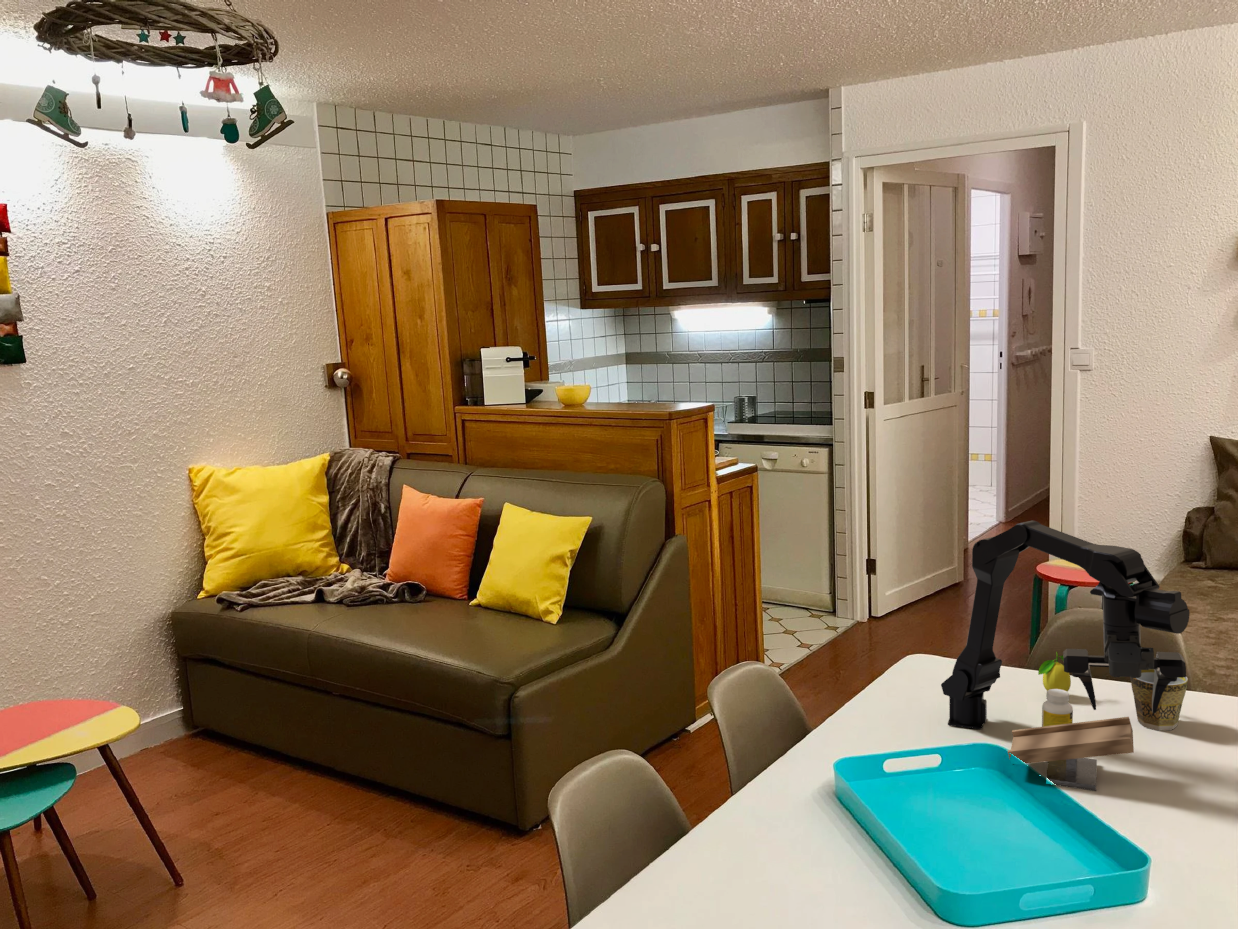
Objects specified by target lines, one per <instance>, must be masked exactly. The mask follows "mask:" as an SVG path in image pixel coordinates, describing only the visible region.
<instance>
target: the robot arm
mask: <svg viewBox="0 0 1238 929" xmlns="http://www.w3.org/2000/svg"><path fill="white" fill-rule="evenodd" d="M1029 548H1032V549H1035V550H1037V551H1039V552H1042V553H1045V554H1047V555H1051V556H1053V557H1055V558H1058V559H1061V560H1062V561H1066V562H1068V563H1071V564H1074V565H1076V566H1077V567H1080V568H1082V569H1083V570H1084V571H1085V573H1087V575H1088V576H1089V577H1090V578H1092V579H1094V580H1096V581H1097V582H1098V584H1097V585H1096V586H1095V587H1093V588H1092V589H1091V590H1089V593H1090V595H1093V596H1099V597H1101V598H1102V626H1103V627H1102V630H1103V655H1091V654H1090V655H1089V652H1088V649H1085V648H1065V649H1064V650H1063V652H1062V655H1063V659H1064V661H1063V665H1064V672H1067V673H1069V674H1072V675H1071V676H1072V677H1074V678H1079V680H1080V682H1081V683H1082V685H1083V687H1084V688H1085V691H1086V693H1087V696H1088V699H1089V701H1090V704H1091V707H1092V709H1093V711H1096V710H1097V701H1096V695H1095V688H1094V684H1093V683H1094V682H1093V679H1092V673H1091V668H1090V667H1094V668H1108V671H1109V672H1108V674H1109V675H1110V676H1111V677H1114V678H1121V677H1125V678H1130V677H1132V678H1139V677H1141V670H1149V669H1155V671H1154V682H1153V694H1152V712H1153V713H1156V710H1157V707H1158V705H1159V702H1160V699H1161V696H1162V694H1163V692H1164V690H1165V688H1166V686H1167V685H1168V684H1169V683H1170V682H1175V681H1177V677H1181V678H1183V677H1187V666H1186V661H1185V659H1184V656H1183V655H1182V654H1181V653H1180V652H1176V651H1175V652H1174V651H1173V652H1172V651H1156V654H1155V652H1154V648H1153V647H1146V646H1144V647H1142V646H1141V644H1142V643H1141V640H1142V639H1141V628H1142V627H1143V628H1145V629H1150V630H1156V631H1162V632H1166V633H1172V634H1177V635H1179V634H1182V633H1183V632H1184V631H1185V630H1186V629H1187V627H1188V624H1189V621H1190V615H1191V614H1190V613H1191V612H1190V608H1188V604H1187V603H1186V600H1184V599H1183V598H1182V592H1181V591H1178V590H1164V589H1160V585H1159V583H1158V582H1157V580H1156V579H1155V577H1153V575H1152V573H1151V572H1150V570H1149V569H1148V567H1147V565H1146V564H1145V562H1144V559H1143V558H1142V555H1141V553H1140V552H1139V551H1137V550H1136V549H1134V548H1128V547H1123V546H1117V545H1107V544H1097V543H1094V542H1091V541H1090V542H1089V541H1087V540H1084V539H1082V538H1079V537H1076V536H1073V535H1072V534H1071V535H1070V534H1068V533H1066V532H1062V531H1061V530H1060V531H1059V530H1057V529H1055V528H1053V527H1049V526H1046V525H1044V524H1042V523H1040V522H1039V521H1036V520H1028V521H1023V522H1020V523H1016V524H1015V525H1013V526H1012V527H1011V528H1009V529H1007V530H1005V531H1003V532H1001V533H999V534H997V535H995V536H992V537H991V536H990V537H988V538H983V539H982V538H981V539H979V540H978V541H976V542H975V543H974V544H973V546H972V549H971V567H972V570H973V572H974V575H975V576H976V586H975V591H974V598H973V604H972V609H971V616H970V621H969V622H970V623H969V626H968V633H967V638H966V640H967V641H966V645H965V647H964V648H963V650H961V653H959V655H958V656H957V658H956V660H955V663H954V666H953V669H952V673H951V675H950V676H949V677H947V679H945V680H944V681H943V682H942V683H941V684H940V686H941V690H942V694H943V695H945V696H947V697H949V701H948V705H949V707H948V710H949V714H948V715H949V716H948V717H949V718H948V721H947V726H950V725H952V726H951V727H960V728H967V729H975V730H983V726H984V724H986V722H987V720H988V718H987V717H988V716H987V714H988V713H987V708H988V706H987V699H985V698H984V697H985V695H984V693H986V692H990V690H991V688H992V685H994V684H995V683H996V682H997V679H1000V678H1001V674H1000V672H1001V667H1002V665H1003V661H1002V659H1001V658H997V657H996V654H995V652H994V643H995V642H994V641H995V637H996V630H997V625H998V619H999V614H1000V608H1001V602H1002V596H1003V590H1004V585H1005V583H1006V580H1008V578H1009V576H1010V575H1011V573H1012V572H1013V571H1014V569H1015V566H1016V564H1017V561H1018V558H1019V555H1020V554H1021V553H1022V552H1023V551H1025V550H1027V549H1029ZM1136 581H1137V582H1136ZM1132 582H1136V583H1133V584H1129V583H1132ZM1155 655H1156V656H1155Z"/></svg>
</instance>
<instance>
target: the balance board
mask: <svg viewBox="0 0 1238 929" xmlns="http://www.w3.org/2000/svg"><path fill="white" fill-rule="evenodd" d="M1133 731H1134V730H1133V727H1132V723H1131V720H1130V716H1124V717H1123V716H1122V717H1114V718H1105V719H1104V718H1103V719H1097V720H1088V721H1087V720H1086V721H1080V722H1072V723H1070V724H1061V725H1053V726H1044V727H1042V726H1038V727H1037V726H1036V727H1029V728H1028V727H1027V728H1020V729H1012V730H1011V734H1012V736H1013V738H1012V741H1011V746H1010V747H1011V748H1010V749H1008V750H1007V754H1008V759H1010V757H1011V754H1013V755H1014V756H1016V757H1017V758H1019V759H1020V760H1022V761H1023V762H1025V763H1026V764H1025V765H1027V764H1035V763H1045V762H1047V763H1048V761H1057V760H1066V759H1076V758H1095V757H1103V756H1114V755H1123V754H1124V755H1125V754H1134V752H1135V751H1134V749H1135V748H1134V732H1133ZM1009 753H1011V754H1009Z"/></svg>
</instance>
